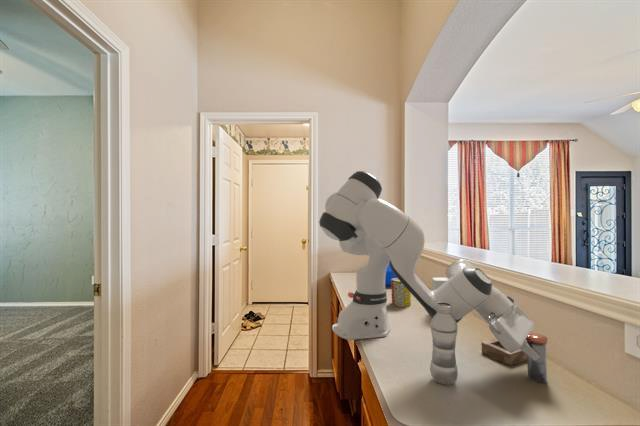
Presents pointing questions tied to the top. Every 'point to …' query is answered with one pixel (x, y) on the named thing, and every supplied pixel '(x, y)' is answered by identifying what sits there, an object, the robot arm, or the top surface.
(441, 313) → the plastic bottle
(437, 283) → the skincare box
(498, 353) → the collar
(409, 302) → the beverage can
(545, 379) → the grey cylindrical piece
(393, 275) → the vase
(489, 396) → the top surface
